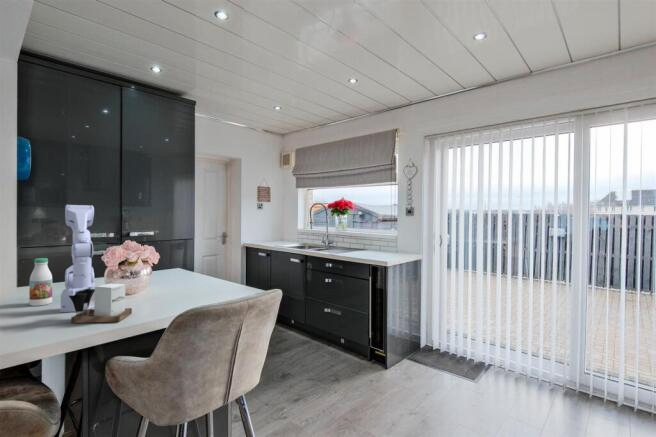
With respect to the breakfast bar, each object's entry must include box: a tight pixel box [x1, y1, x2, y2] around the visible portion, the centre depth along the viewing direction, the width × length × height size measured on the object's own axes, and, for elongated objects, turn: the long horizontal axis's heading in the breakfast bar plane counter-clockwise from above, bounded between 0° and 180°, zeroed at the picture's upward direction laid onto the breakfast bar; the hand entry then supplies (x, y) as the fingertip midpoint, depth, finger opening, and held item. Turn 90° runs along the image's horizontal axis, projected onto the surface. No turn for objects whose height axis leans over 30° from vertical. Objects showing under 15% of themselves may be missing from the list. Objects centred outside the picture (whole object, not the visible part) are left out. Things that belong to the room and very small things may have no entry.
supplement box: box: [93, 283, 126, 316], centre depth 131 cm, size 7×7×13 cm
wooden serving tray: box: [71, 302, 133, 324], centre depth 131 cm, size 17×11×6 cm, turn 98°
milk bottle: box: [28, 257, 53, 307], centre depth 149 cm, size 8×8×20 cm
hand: (81, 310), depth 130 cm, fingers closed on wooden serving tray, 3 cm apart
